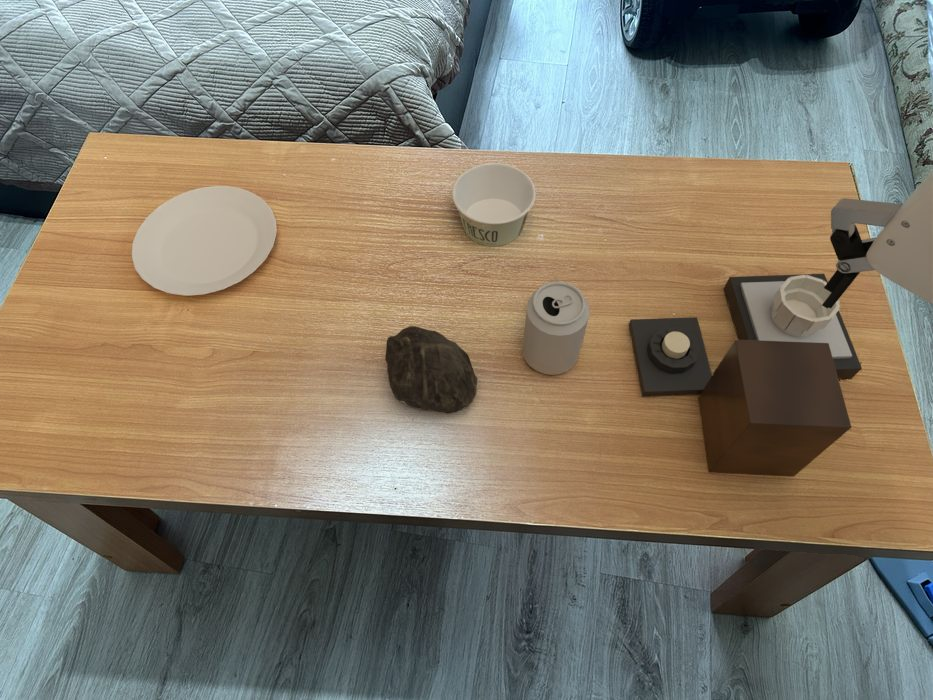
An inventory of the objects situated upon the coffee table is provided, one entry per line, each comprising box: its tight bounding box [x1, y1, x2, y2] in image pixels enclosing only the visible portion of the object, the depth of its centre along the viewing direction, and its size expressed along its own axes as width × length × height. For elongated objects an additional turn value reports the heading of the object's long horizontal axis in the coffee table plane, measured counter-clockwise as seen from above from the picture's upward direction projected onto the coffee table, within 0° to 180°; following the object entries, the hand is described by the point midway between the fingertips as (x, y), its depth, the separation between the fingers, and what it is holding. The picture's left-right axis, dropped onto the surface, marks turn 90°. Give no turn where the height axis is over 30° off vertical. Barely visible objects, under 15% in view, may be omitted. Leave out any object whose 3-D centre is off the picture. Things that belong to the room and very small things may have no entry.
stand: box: [697, 339, 852, 477], centre depth 74 cm, size 10×10×14 cm
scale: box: [723, 273, 863, 380], centre depth 86 cm, size 15×13×3 cm
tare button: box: [662, 332, 690, 359], centre depth 83 cm, size 3×3×2 cm
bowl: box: [771, 274, 841, 337], centre depth 83 cm, size 7×7×4 cm
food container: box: [451, 162, 537, 247], centre depth 96 cm, size 12×12×6 cm
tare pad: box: [628, 316, 713, 398], centre depth 84 cm, size 11×9×3 cm
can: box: [521, 280, 590, 376], centre depth 81 cm, size 8×8×12 cm
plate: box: [131, 185, 278, 297], centre depth 96 cm, size 21×21×2 cm
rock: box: [384, 325, 479, 415], centre depth 80 cm, size 10×11×10 cm
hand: (890, 330), depth 52 cm, fingers open, 9 cm apart
